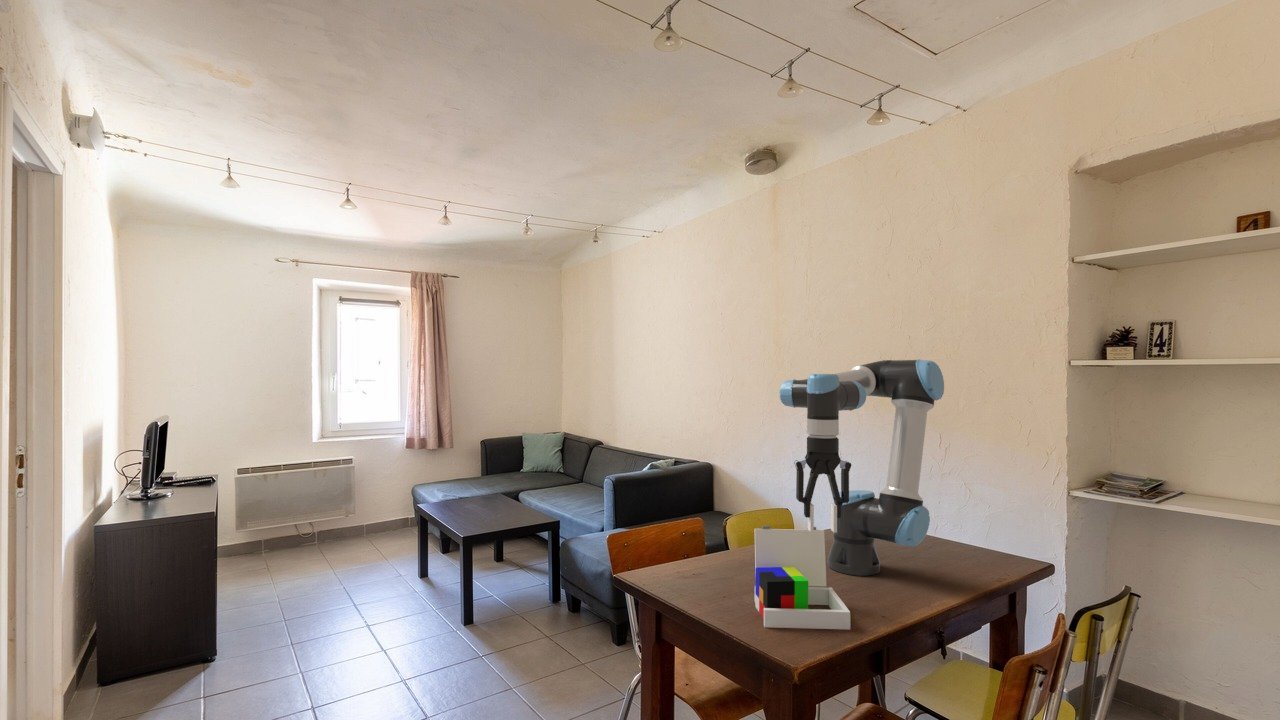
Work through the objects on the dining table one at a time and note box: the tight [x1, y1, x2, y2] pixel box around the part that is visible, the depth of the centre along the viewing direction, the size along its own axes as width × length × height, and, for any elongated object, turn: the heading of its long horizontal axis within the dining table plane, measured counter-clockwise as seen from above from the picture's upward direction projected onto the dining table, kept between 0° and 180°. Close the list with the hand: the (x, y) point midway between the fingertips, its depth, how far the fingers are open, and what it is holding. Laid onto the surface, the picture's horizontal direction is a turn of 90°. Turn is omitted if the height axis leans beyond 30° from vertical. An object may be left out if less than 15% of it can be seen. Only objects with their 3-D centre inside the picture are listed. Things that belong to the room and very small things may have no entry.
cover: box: [754, 525, 827, 587], centre depth 155 cm, size 18×15×1 cm
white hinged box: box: [754, 585, 851, 630], centre depth 146 cm, size 20×15×4 cm
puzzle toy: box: [754, 567, 809, 619], centre depth 147 cm, size 10×10×10 cm
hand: (822, 530), depth 146 cm, fingers open, 5 cm apart
